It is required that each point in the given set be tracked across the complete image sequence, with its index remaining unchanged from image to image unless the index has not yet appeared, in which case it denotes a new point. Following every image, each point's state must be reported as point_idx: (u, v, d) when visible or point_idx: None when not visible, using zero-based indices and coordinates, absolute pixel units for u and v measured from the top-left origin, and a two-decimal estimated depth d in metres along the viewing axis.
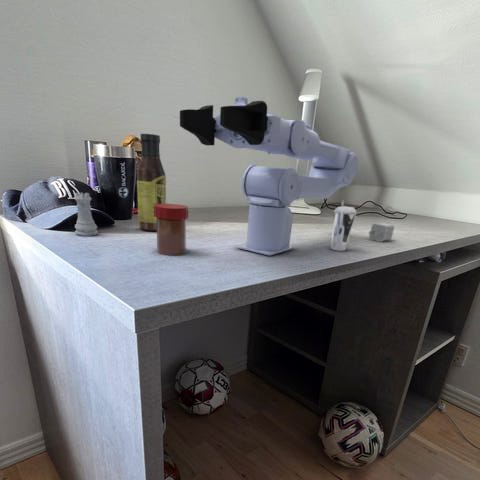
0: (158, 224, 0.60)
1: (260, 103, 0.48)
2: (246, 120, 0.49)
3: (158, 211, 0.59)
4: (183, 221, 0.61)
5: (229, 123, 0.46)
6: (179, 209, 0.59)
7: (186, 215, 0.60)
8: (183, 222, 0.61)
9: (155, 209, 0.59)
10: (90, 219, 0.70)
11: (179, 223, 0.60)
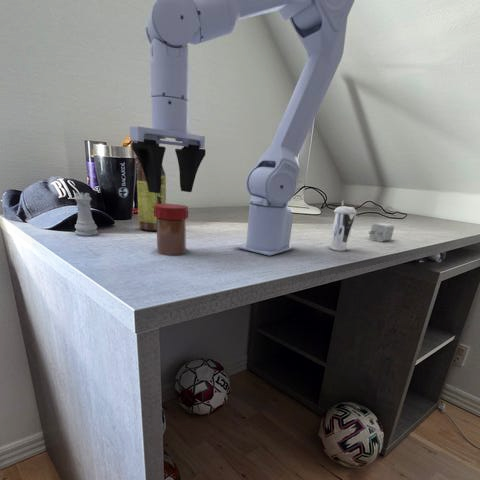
0: (158, 224, 0.60)
1: (134, 151, 0.54)
2: (150, 160, 0.55)
3: (158, 211, 0.59)
4: (183, 221, 0.61)
5: (155, 186, 0.56)
6: (179, 209, 0.59)
7: (186, 215, 0.60)
8: (183, 222, 0.61)
9: (155, 209, 0.59)
10: (90, 219, 0.70)
11: (179, 223, 0.60)
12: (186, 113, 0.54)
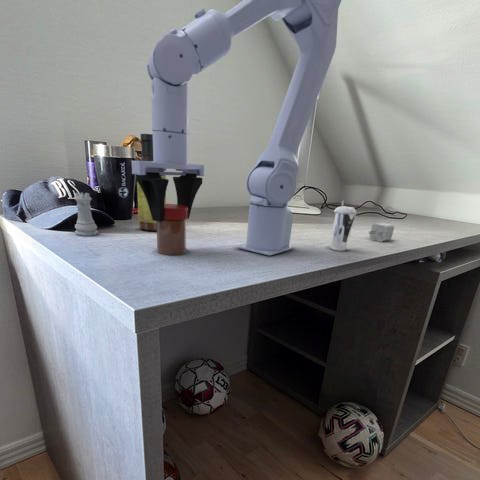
0: (158, 224, 0.60)
1: (138, 182, 0.56)
2: (154, 191, 0.57)
3: None
4: (183, 221, 0.61)
5: (158, 215, 0.58)
6: (179, 209, 0.59)
7: (186, 215, 0.60)
8: (183, 222, 0.60)
9: None
10: (90, 219, 0.70)
11: (179, 223, 0.60)
12: (186, 146, 0.56)
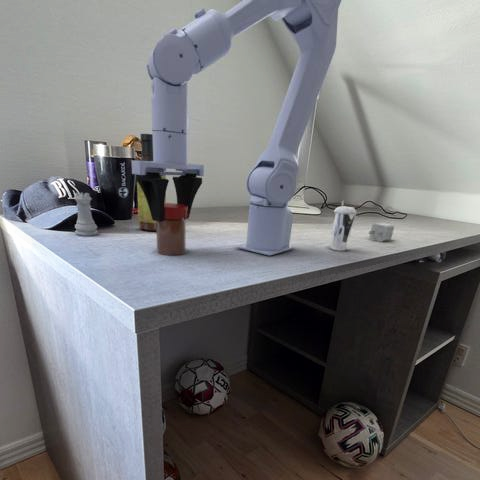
0: (158, 224, 0.60)
1: (138, 182, 0.56)
2: (154, 191, 0.57)
3: (182, 212, 0.59)
4: (183, 221, 0.61)
5: (158, 215, 0.58)
6: (185, 206, 0.62)
7: None
8: (183, 221, 0.61)
9: (177, 211, 0.59)
10: (90, 219, 0.70)
11: (179, 223, 0.60)
12: (186, 146, 0.56)
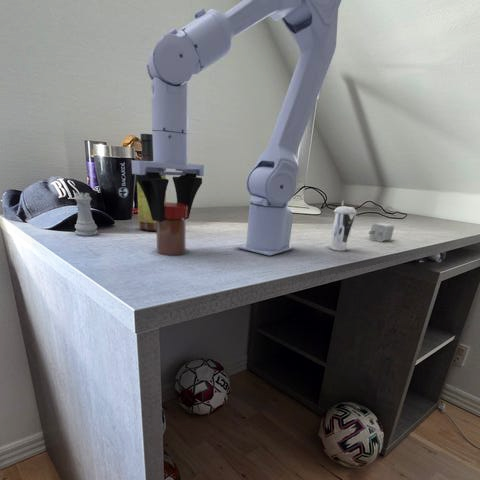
0: (158, 224, 0.60)
1: (138, 182, 0.56)
2: (154, 191, 0.57)
3: None
4: (183, 221, 0.61)
5: (158, 215, 0.58)
6: None
7: None
8: (183, 221, 0.61)
9: None
10: (90, 219, 0.70)
11: (180, 223, 0.60)
12: (186, 146, 0.56)
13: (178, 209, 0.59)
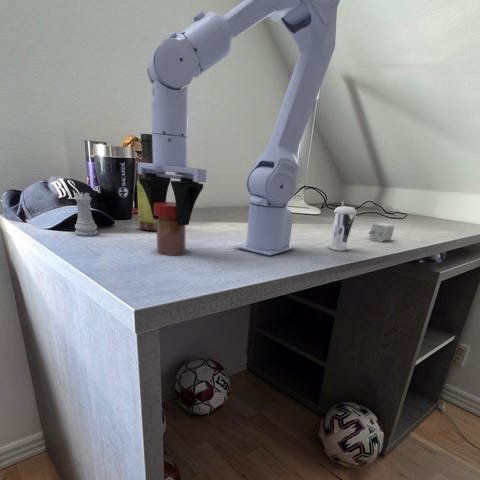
0: (159, 224, 0.60)
1: (181, 190, 0.55)
2: (185, 196, 0.58)
3: None
4: None
5: (188, 218, 0.60)
6: (155, 205, 0.59)
7: (163, 213, 0.58)
8: None
9: None
10: (90, 219, 0.70)
11: None
12: None
13: None
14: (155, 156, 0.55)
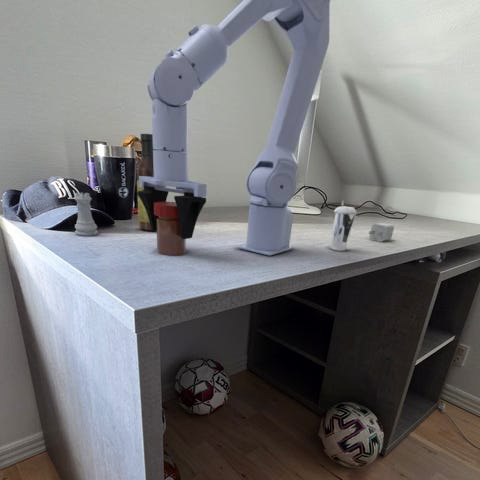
0: (159, 224, 0.60)
1: (185, 205, 0.56)
2: (188, 210, 0.58)
3: None
4: None
5: (191, 232, 0.61)
6: (155, 205, 0.59)
7: (163, 213, 0.58)
8: None
9: None
10: (90, 219, 0.70)
11: None
12: None
13: None
14: (156, 171, 0.56)
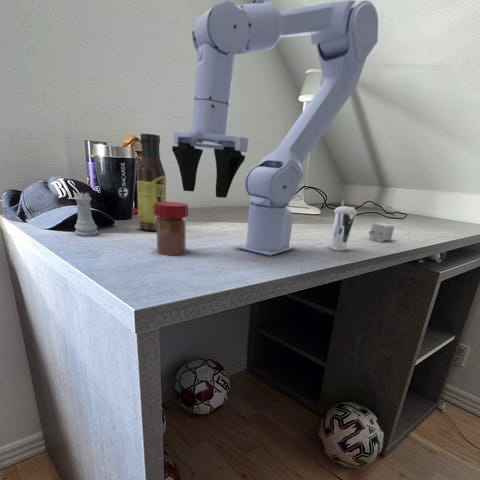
0: (159, 224, 0.60)
1: (225, 158, 0.53)
2: (226, 167, 0.56)
3: None
4: (184, 221, 0.61)
5: (226, 191, 0.58)
6: (155, 205, 0.59)
7: (163, 213, 0.58)
8: (184, 221, 0.61)
9: None
10: (90, 219, 0.70)
11: (181, 223, 0.60)
12: None
13: None
14: (196, 122, 0.54)
